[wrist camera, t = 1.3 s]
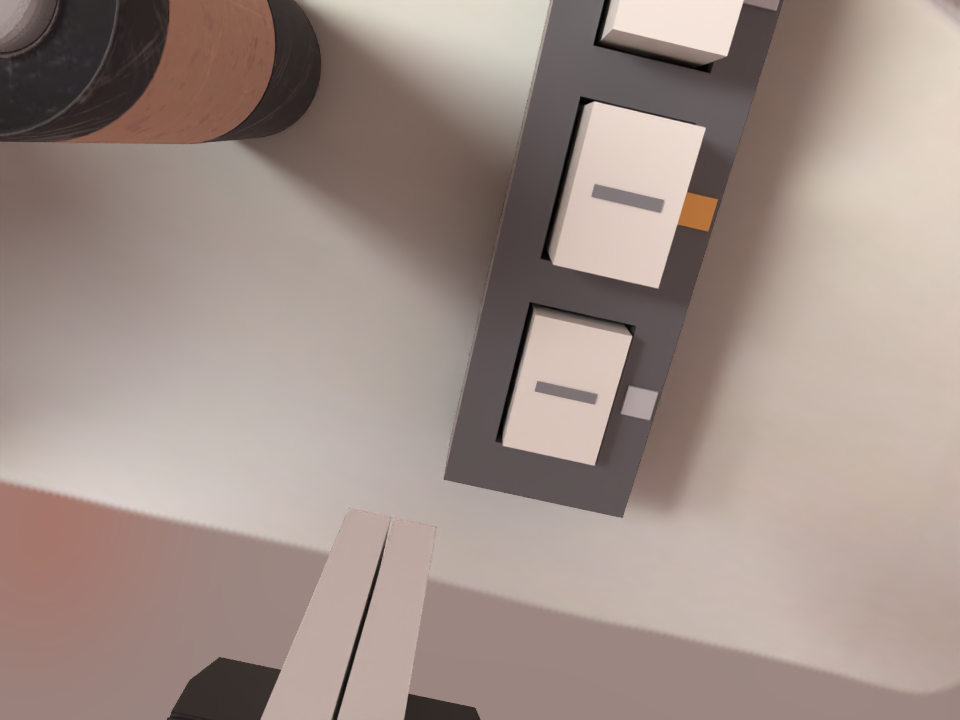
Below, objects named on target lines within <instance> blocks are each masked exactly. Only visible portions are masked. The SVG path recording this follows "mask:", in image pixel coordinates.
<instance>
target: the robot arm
mask: <svg viewBox="0 0 960 720" xmlns="http://www.w3.org/2000/svg"><path fill="white" fill-rule="evenodd" d="M390 520H391V517H388V516H383V515H378V514H374V513H369V512H365V511H360V510H355V509H351V508H349V509H348V512H347V514H346V516H345V519H344V521H343V524H342V526H341V528H340V531H339V533H338V536H337V538H336V540H335V543H334V545H333V548H332V550H331V552H330V555H329V557H328V560H327V562H326V564H325V567H324V569H323V571H322V574H321V576H320V579H319V581H318V583H317V586H316V588H315V591H314V593H313V595H312V598H311V600H310V603H309V605H308V608H307V610H306V612H305V615H304V617H303V620H302V622H301V624H300V627H299V629H298V631H297V634H296V636H295V638H294V641H293V643H292V646H291V648H290V650H289V653H288V655H287V658H286V660H285V662H284V665H283V667H282V670H279V669H274V668H269V667H264V666H260V665H255V664H250V663H245V662H241V661H236V660H231V659H226V658H221V657H219V658H218V659H217V660H215V661H214V662H213V663H211V664H210V665H209V666H207V667H206V668H205V669H204V670H202V671H201V672H200V673H199V674H197V675H196V676H194V677H193V678H192V679H191V680H190V681H189V682H188V684H187V686H186V687H185V689H184V691H183V693H182V694H181V696H180V698H179V700H178V701H177V703H176V705H175V706H174V708H173V710H172V712H171V715H170V718H167V720H480V717H479V715H478V713H477V711H476V708H474V707H469V706H465V705H459V704H455V703H450V702H445V701H440V700H435V699H430V698H426V697H421V696H416V695H412V694H408V692H409V686H410V681H411V675H412V669H413V663H414V657H415V651H416V645H417V639H418V634H419V627H420V622H421V616H422V610H423V604H424V598H425V592H426V586H427V581H428V575H429V569H430V563H431V557H432V551H433V545H434V539H435V533H436V528H437V527H434V526H429V525H425V524H420V523H415V522H411V521H406V520H402V519H397V518H395V519H394V522H393V526H392V529H391V533H390V536H389V540H388V543H387V547H386V550H385V554H384V557H383V552H384V548H385V543H386V538H387V534H388V529H389V524H390ZM382 557H383V561H382ZM381 562H382V564H381ZM380 566H381V568H380Z"/></svg>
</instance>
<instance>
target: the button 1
mask: <svg viewBox="0 0 960 720" xmlns="http://www.w3.org/2000/svg"><path fill="white" fill-rule="evenodd" d="M631 339H632V335H631V334H630V332H629V331H628V329H627V328H626V326H625V325H624V323H621V322H616V321H612V320H607V319H603V318H599V317H594V316H590V315H585V314H581V313H576V312H572V311H567V310H563V309H558V308H554V307H550V306H545V305H541V304H536V303H532V302H530V303H529V307H528V311H527V315H526V319H525V323H524V327H523V331H522V335H521V339H520V343H519V347H518V351H517V355H516V359H515V363H514V367H513V371H512V375H511V380H510V384H509V388H508V392H507V396H506V400H505V404H504V408H503V412H502V424H503V446H506V447H511V448H515V449H520V450H524V451H529V452H534V453H538V454H543V455H547V456H552V457H557V458H561V459H566V460H571V461H575V462H580V463H584V464H589V465H594V466H595V462H596V459H597V456H598V452H599V449H600V445H601V442H602V438H603V435H604V432H605V428H606V425H607V421H608V418H609V414H610V411H611V408H612V404H613V401H614V397H615V394H616V390H617V387H618V384H619V380H620V377H621V373H622V370H623V366H624V363H625V360H626V356H627V353H628V349H629V346H630V342H631Z"/></svg>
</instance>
